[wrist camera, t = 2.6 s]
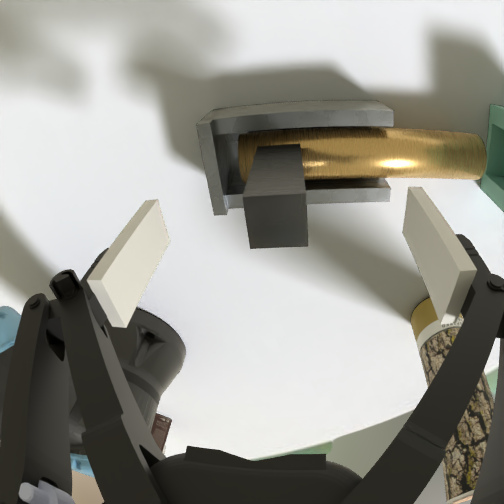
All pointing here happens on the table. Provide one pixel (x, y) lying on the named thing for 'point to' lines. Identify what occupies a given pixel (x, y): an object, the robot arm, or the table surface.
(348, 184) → the grey bracket
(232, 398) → the table surface
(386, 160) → the brass sliding bolt
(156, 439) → the box
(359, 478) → the robot arm
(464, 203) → the table surface
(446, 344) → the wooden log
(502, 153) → the socket block
